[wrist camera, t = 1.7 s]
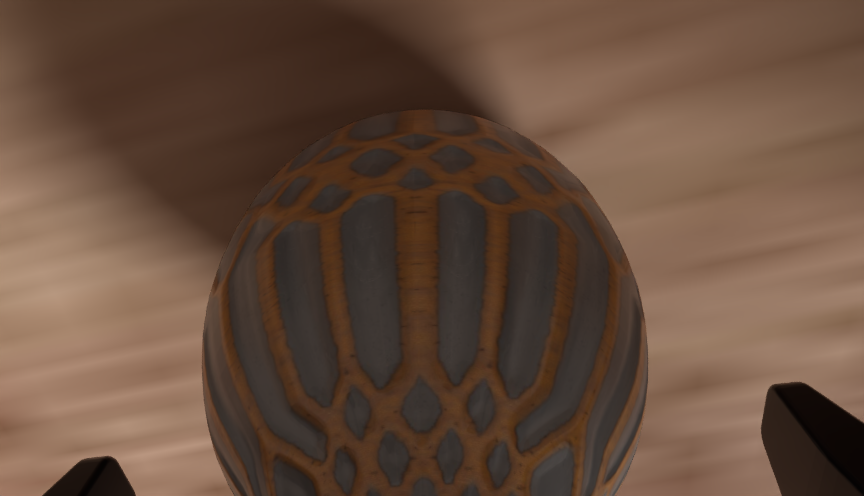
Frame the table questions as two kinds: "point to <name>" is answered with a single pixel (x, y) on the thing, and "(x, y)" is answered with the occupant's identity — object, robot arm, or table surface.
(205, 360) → the vase
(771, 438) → the robot arm
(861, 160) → the table surface
